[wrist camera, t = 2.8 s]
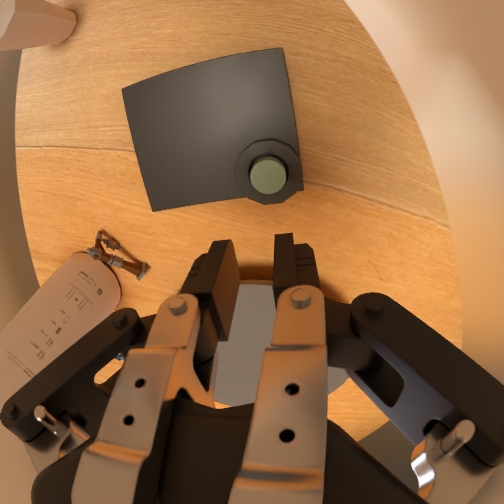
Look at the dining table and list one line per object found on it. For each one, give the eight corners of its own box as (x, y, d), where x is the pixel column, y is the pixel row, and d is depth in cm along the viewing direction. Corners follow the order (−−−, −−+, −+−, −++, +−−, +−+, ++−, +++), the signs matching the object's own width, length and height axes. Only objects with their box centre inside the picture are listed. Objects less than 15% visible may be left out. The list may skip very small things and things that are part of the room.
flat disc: (383, 278, 31) (394, 300, 28) (321, 394, 46) (322, 414, 42) (157, 244, 32) (143, 265, 28) (173, 374, 46) (167, 393, 43)
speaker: (58, 265, 36) (-37, 385, 14) (89, 237, 32) (-35, 385, 10) (98, 313, 40) (25, 441, 18) (135, 295, 37) (51, 456, 14)
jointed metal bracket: (95, 224, 30) (87, 250, 27) (147, 248, 35) (145, 274, 32) (90, 233, 31) (83, 259, 28) (140, 256, 36) (138, 282, 33)
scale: (281, 50, 20) (282, 43, 18) (303, 190, 27) (305, 200, 25) (127, 88, 23) (112, 89, 20) (158, 211, 30) (147, 222, 27)
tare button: (283, 154, 23) (283, 157, 21) (287, 186, 24) (288, 192, 23) (249, 158, 23) (247, 162, 22) (254, 190, 25) (253, 196, 23)
